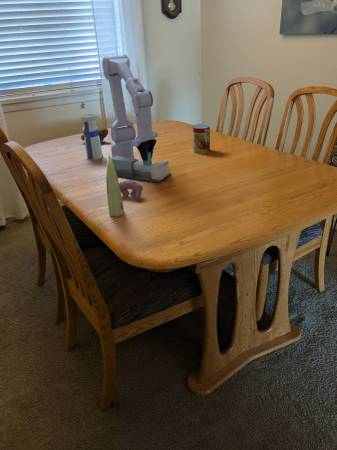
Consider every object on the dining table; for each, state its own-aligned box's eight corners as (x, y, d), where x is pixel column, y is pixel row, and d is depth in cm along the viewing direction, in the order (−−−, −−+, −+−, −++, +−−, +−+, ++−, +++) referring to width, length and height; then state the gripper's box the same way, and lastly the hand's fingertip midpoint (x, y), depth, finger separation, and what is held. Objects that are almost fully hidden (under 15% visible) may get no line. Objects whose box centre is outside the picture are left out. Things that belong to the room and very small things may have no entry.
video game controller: (143, 201, 135) (144, 182, 135) (138, 201, 131) (140, 181, 131) (118, 199, 138) (119, 180, 138) (112, 199, 134) (114, 179, 134)
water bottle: (81, 159, 177) (72, 104, 165) (91, 153, 184) (83, 100, 172) (96, 160, 174) (88, 104, 163) (106, 154, 181) (99, 101, 169)
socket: (151, 178, 148) (150, 165, 145) (160, 173, 153) (159, 160, 150) (160, 180, 146) (159, 166, 143) (169, 174, 151) (168, 161, 148)
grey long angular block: (107, 175, 157) (105, 160, 154) (121, 167, 164) (119, 153, 161) (158, 184, 145) (157, 168, 142) (171, 175, 152) (170, 160, 149)
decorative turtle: (109, 144, 196) (106, 129, 192) (80, 148, 197) (77, 133, 193) (111, 138, 204) (108, 124, 200) (84, 141, 206) (81, 127, 201)
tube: (104, 214, 125) (96, 157, 115) (116, 208, 128) (108, 152, 119) (116, 218, 121) (108, 160, 112) (127, 212, 125) (121, 155, 115)
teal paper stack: (123, 167, 155) (120, 150, 152) (126, 165, 157) (124, 148, 154) (154, 173, 148) (153, 154, 145) (158, 170, 150) (156, 152, 147)
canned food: (210, 153, 175) (210, 127, 169) (193, 154, 175) (193, 128, 169) (209, 148, 182) (209, 123, 176) (192, 149, 182) (192, 124, 176)
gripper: (142, 130, 135) (145, 166, 142) (163, 121, 146) (165, 155, 152) (126, 128, 138) (130, 164, 145) (148, 119, 149) (150, 153, 156)
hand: (147, 159), depth 149 cm, fingers closed on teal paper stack, 3 cm apart
